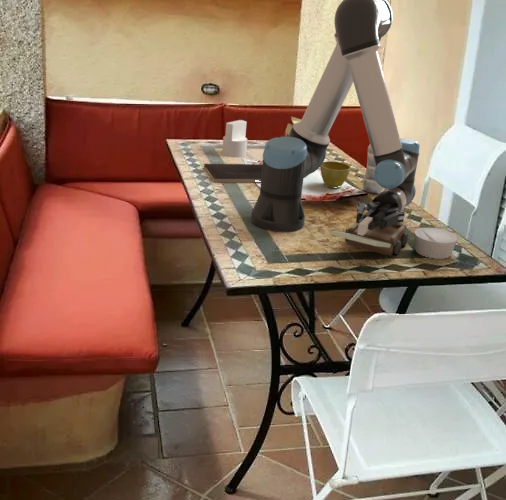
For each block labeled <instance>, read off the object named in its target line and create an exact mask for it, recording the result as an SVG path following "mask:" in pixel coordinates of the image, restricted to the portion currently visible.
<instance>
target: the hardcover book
mask: <svg viewBox="0 0 506 500" xmlns="http://www.w3.org/2000/svg"><path fill="white" fill-rule="evenodd" d="M262 164H263V163H259V164H257V163H256V164H254V163H252V164H251V163H246V164H245V163H204V165H203V169H205V170H206V172H207V173H208V175H209V176H210V178H211V179H212V181H213V182H214V183H256V182H255V180H259V181H261V175H262Z"/></svg>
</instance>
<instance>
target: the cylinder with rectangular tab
mask: <svg viewBox="0 0 506 500" xmlns="http://www.w3.org/2000/svg"><path fill="white" fill-rule="evenodd" d="M247 123H248V122H247V121H246V120H243V119H238V120H233V121H229V122H226V124H225V135H224V136H223V137H222V150H221V154H222V155H223V156H226V157H230V158H243V157H246V156H247V149H248V138H247V137H246V133H247Z"/></svg>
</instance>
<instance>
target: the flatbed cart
mask: <svg viewBox="0 0 506 500" xmlns="http://www.w3.org/2000/svg"><path fill="white" fill-rule="evenodd" d="M406 230H407V224H403V223H396V224H394V225H392V226H389V227H387V228H385V229H380V227H377V228H374V229H373V230H368V231H367V232H366V233H365V234H364V235H363V236H362V235H358V234H357V232H358V223H356V222H355V223H354V224H353V225H352V226H350V227H349V228H346V229H345V232H344V233H350V234H354V235H357V236H361V237H365V238H369V239H373V240H377V241H381V242H385V243H389V244H391V247H390V248H388V247H379V246H373V245H369V244H363V243H359V242H355V241H351V240H347V239H346V238H344V240H345V241H346V242H347V246H351V247H355V248H358V249H363V250H367V251H370V252H375V253H378V254H382V255H385V256H390V257H392V255H393V254H395V255H399V254H400V251H401V247H402V246H403V247H406V245H407V243H408V239H409V233H408V232H406Z"/></svg>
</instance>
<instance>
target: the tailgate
mask: <svg viewBox="0 0 506 500" xmlns="http://www.w3.org/2000/svg"><path fill="white" fill-rule="evenodd" d="M330 235H331V236H335V237H338V238H339V237H340V238H342V239H345V238H346V239H347V240H351V241H355V242H359V243H363V244H369V245H373V246H379V247H388V248H390V247H391V244H389V243H385V242H381V241H377V240H373V239H369V238H365V237H361V236H357V235H354V234H350V233H345V232H342V231H338V230H331V231H330Z"/></svg>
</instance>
